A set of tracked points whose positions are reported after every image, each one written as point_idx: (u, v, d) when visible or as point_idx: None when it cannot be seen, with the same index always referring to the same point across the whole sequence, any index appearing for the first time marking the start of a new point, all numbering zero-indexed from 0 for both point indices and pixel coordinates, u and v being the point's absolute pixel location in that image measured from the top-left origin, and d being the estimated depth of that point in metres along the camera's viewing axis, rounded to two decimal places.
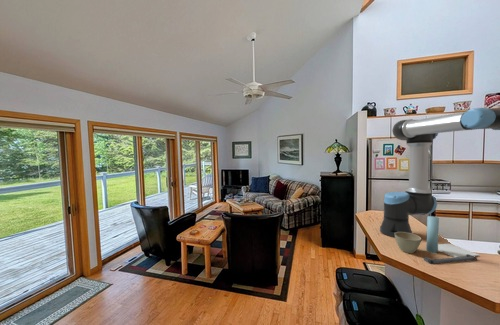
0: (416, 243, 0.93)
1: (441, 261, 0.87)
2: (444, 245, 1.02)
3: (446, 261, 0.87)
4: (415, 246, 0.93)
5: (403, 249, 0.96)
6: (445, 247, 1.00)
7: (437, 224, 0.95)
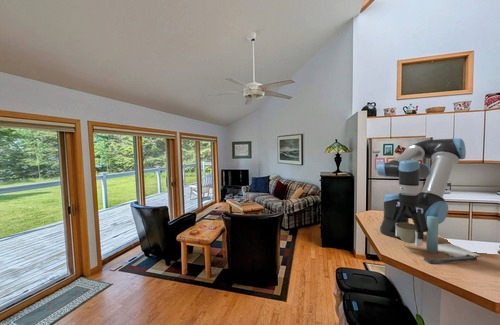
0: None
1: (441, 261, 0.87)
2: (444, 245, 1.02)
3: (446, 261, 0.87)
4: None
5: (404, 239, 0.97)
6: (445, 247, 1.00)
7: (437, 224, 0.95)
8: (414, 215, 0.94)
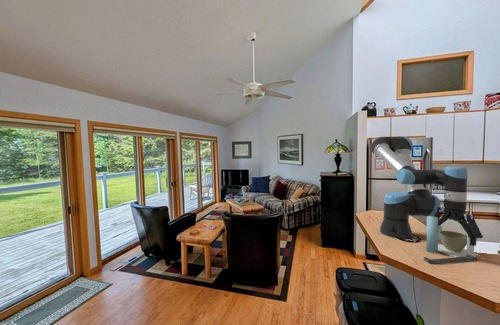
0: (464, 242, 0.93)
1: (441, 261, 0.87)
2: None
3: (446, 261, 0.87)
4: (463, 245, 0.93)
5: (450, 248, 0.96)
6: None
7: (437, 224, 0.95)
8: (463, 221, 0.93)
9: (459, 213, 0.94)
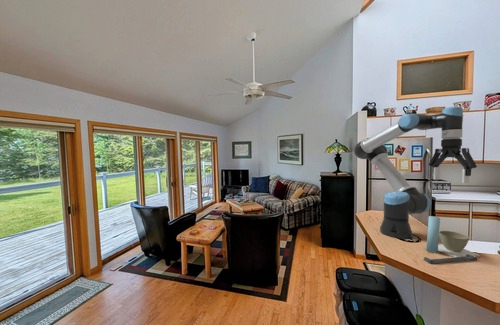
0: (464, 242, 0.93)
1: (441, 261, 0.87)
2: None
3: (446, 261, 0.87)
4: (463, 245, 0.93)
5: (450, 248, 0.96)
6: None
7: (438, 224, 0.95)
8: (459, 156, 1.01)
9: (455, 149, 1.01)
